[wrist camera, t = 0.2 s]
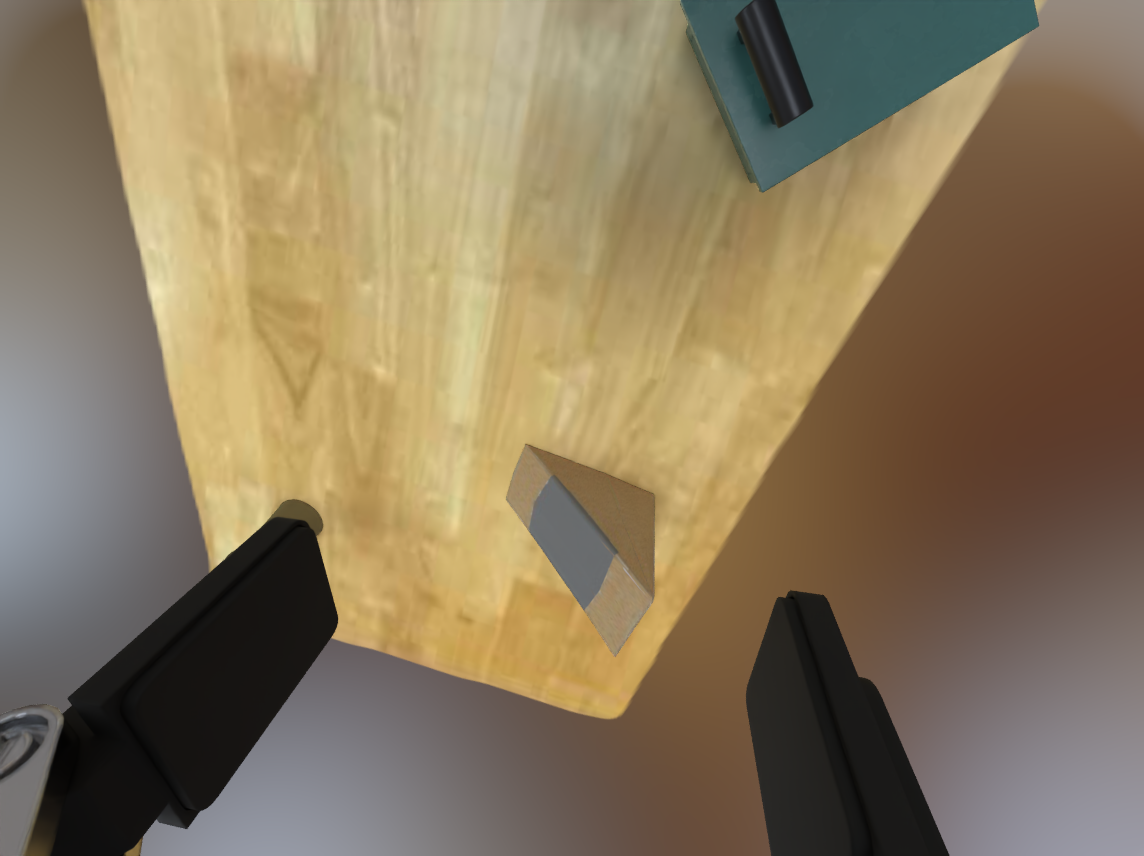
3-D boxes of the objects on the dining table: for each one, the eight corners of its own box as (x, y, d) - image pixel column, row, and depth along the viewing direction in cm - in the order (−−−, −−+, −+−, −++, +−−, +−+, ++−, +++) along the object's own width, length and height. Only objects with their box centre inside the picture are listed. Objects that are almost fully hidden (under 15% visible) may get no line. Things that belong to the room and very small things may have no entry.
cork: (328, 538, 64) (269, 602, 54) (287, 535, 65) (222, 597, 55) (314, 500, 61) (250, 562, 51) (272, 498, 62) (201, 557, 52)
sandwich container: (524, 441, 52) (479, 531, 39) (656, 493, 52) (655, 599, 39) (503, 500, 56) (456, 599, 43) (625, 547, 56) (616, 660, 43)
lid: (760, 192, 30) (778, 195, 26) (679, 3, 27) (684, -34, 22) (1029, 30, 25) (1115, -4, 20) (973, -233, 22) (1062, -348, 17)
